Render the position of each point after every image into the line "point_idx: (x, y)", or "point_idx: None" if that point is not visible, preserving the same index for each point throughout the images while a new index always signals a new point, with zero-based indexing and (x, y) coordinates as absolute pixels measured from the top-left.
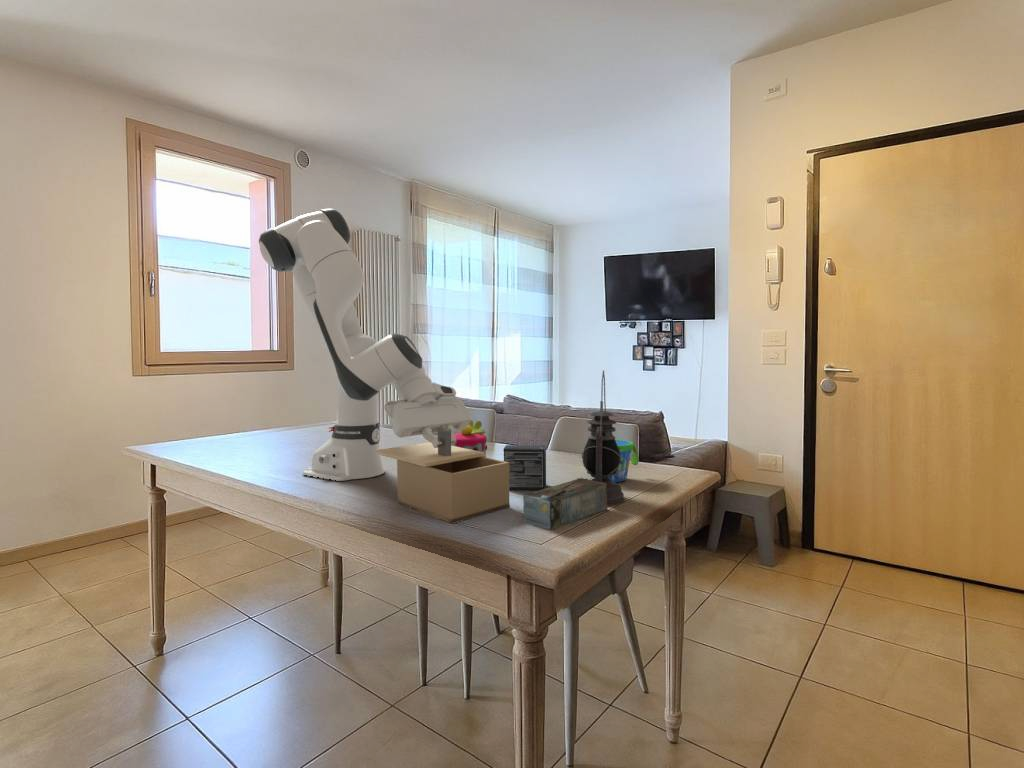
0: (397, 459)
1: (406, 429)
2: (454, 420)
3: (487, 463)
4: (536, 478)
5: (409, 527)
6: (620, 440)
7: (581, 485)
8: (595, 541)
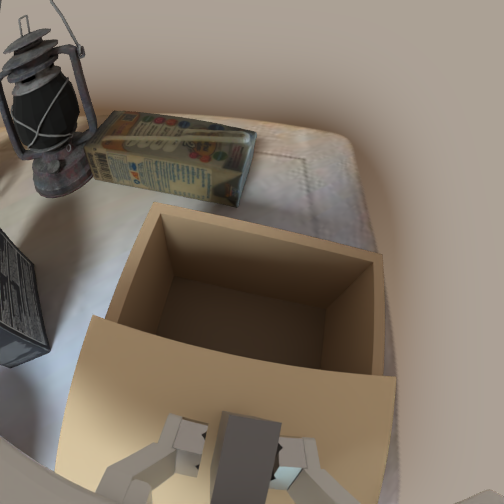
0: None
1: (478, 493)
2: (58, 488)
3: (133, 296)
4: (22, 266)
5: (392, 354)
6: None
7: (146, 122)
8: (253, 123)
